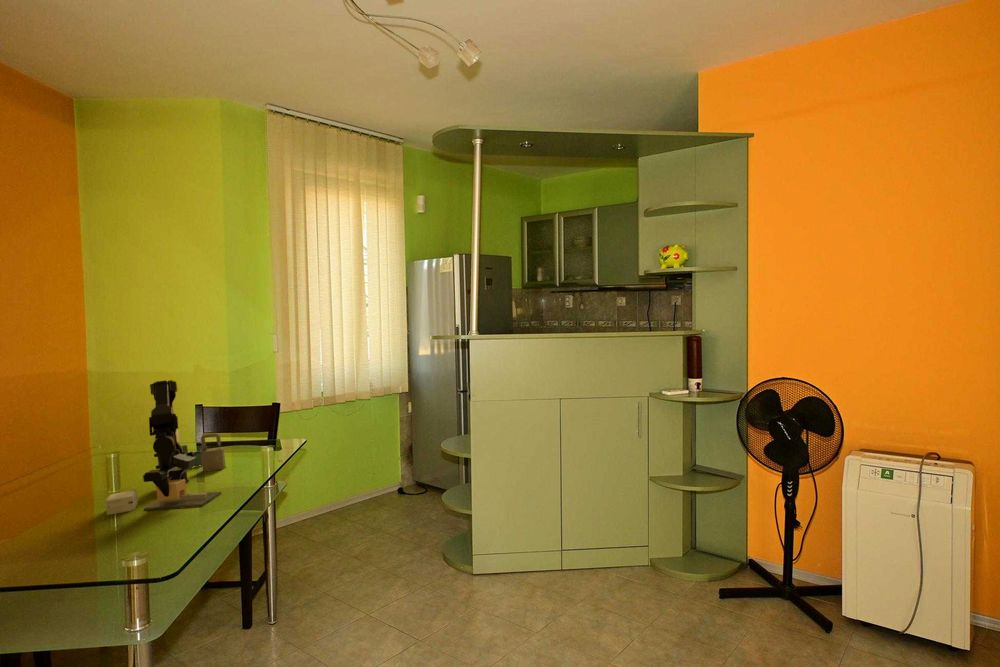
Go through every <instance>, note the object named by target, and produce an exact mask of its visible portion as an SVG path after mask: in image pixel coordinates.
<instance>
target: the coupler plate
mask: <svg viewBox="0 0 1000 667" xmlns="http://www.w3.org/2000/svg"><path fill="white" fill-rule="evenodd" d="M220 494H221V495H222V491H213V492H199V493H198V492H197V493H187V494H184V495H180V498H179V499H173V500H160V501H158V499H157V500H156V501H154V502H152V503H150V504H149V505H147V506H144V507H143V511H147V512H148V511H159V509H160V510H169V509H168V508H173V509H179V508H178V507H186V508H191V507H190V506H199V507H204V506H205V505H206V503H207V504H208V503H210V502H212V501H213V500H214V499H216V498H217V497H219V496H221V495H220ZM215 497H216V498H215ZM212 499H213V500H212ZM209 501H210V502H209ZM203 505H204V506H203Z"/></svg>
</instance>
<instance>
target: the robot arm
mask: <svg viewBox="0 0 1000 667" xmlns="http://www.w3.org/2000/svg"><path fill="white" fill-rule="evenodd" d="M149 388H150V389H149V390H150V395H151V396H153V399H154V401H155V402H154V403H155V407H153V409H152V410H151V412H150V416H149V417H148V422H149V423H148V426H149V427H148V428H149V436H150V437H151V436H154V441H153V444H152V448H153V451H154V453H153V456H154V458H157V463H158V464H157V465H155V469H151V470H149V471H146V472H145V473H144V474H143V475H142V481H143V482H144V483H147V482H153V484H154V485H155V487H156V486H157V487H158V488H159V490H160V491H161V492H162V493H163V495H164V496H165V497H168V496H169V480H179V479H185V482H186V483H188V482H189V481H190V479H188V473H187V471H188V470H189V469H192V468H191V467H193V465H194V462H195V461H197V459H196V454H195V452H196V451H193V450H192V451H191V450H190V451H188V454H186V453H185V452H183V448H182V446H183V445H181V444H180V443H179V442H178V440H177V439H178V438H177V429H178V430H179V421H178V420H179V417H178V416H177V415H176V413H174V407H173V403H174V400H175V399H176V397H177V392H178V384H177V381H174V380H172V379H170V380H167V379H166V380H164V379H163V380H160V381H159V380H156V381H153V383H151V384H149Z"/></svg>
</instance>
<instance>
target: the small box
mask: <svg viewBox="0 0 1000 667" xmlns="http://www.w3.org/2000/svg"><path fill="white" fill-rule="evenodd" d="M138 504H139V501H138V490H136V489H135V490H134V489H133V490H129V491H123V492H118V493H113V494H110V495H108V497H107V499H105V507H106V508H105V510H106V515H107V514H110V515H114V514H115V513H116V514H119V513H120V514H121V513H126V511H127V512H131V511H135V509H136V508H137V506H138ZM135 507H136V508H135Z"/></svg>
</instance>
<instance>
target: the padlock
mask: <svg viewBox="0 0 1000 667" xmlns="http://www.w3.org/2000/svg"><path fill="white" fill-rule="evenodd" d="M214 437H215V438H216V445H217V446H218V447H217V448H214V447H213V448H209V449H208V448H207V450H206V445H207V444H206V438H214ZM200 441H201V445H202V451H201V450H200V451H201V460H202V466H201V468H202V472H211V471H213V470H214V471H220V470H224V469H226V468H225V467H226V466H227V465H226V458H225V448H224V447H221V445H222V440H221V435H220V433H217V432H214V433H205V434H202V435H201V437H200ZM223 468H224V469H223ZM219 469H220V470H219Z"/></svg>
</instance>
